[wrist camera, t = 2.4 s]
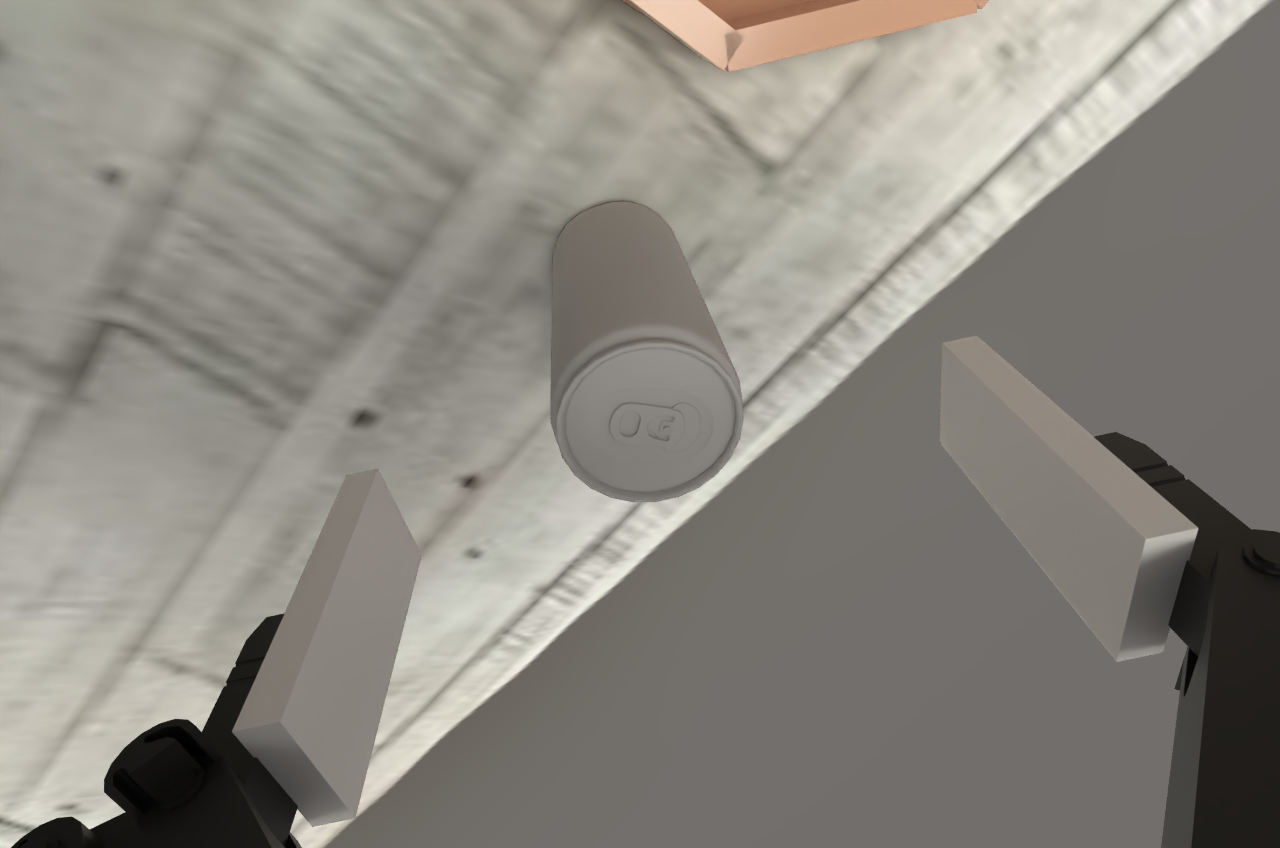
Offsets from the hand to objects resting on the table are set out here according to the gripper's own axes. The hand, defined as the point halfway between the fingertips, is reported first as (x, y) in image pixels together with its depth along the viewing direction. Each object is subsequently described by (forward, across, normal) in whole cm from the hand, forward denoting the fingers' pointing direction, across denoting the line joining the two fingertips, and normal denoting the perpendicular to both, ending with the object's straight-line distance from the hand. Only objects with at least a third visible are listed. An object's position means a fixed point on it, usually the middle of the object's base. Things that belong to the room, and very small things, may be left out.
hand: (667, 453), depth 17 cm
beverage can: (+13, 0, 0) cm, 13 cm away
